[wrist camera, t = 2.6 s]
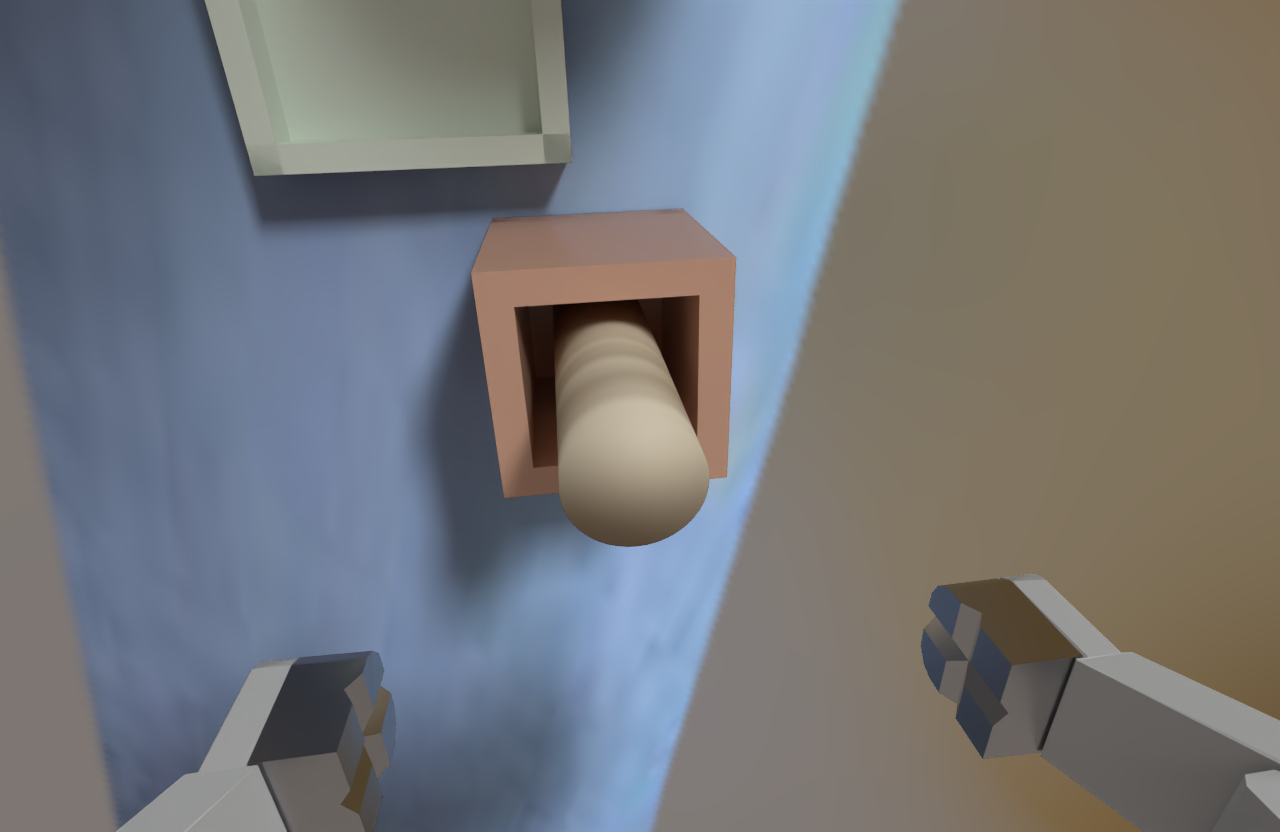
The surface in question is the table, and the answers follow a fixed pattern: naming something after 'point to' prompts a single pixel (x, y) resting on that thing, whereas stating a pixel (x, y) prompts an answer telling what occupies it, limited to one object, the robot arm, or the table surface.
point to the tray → (395, 83)
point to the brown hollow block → (593, 272)
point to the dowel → (621, 428)
